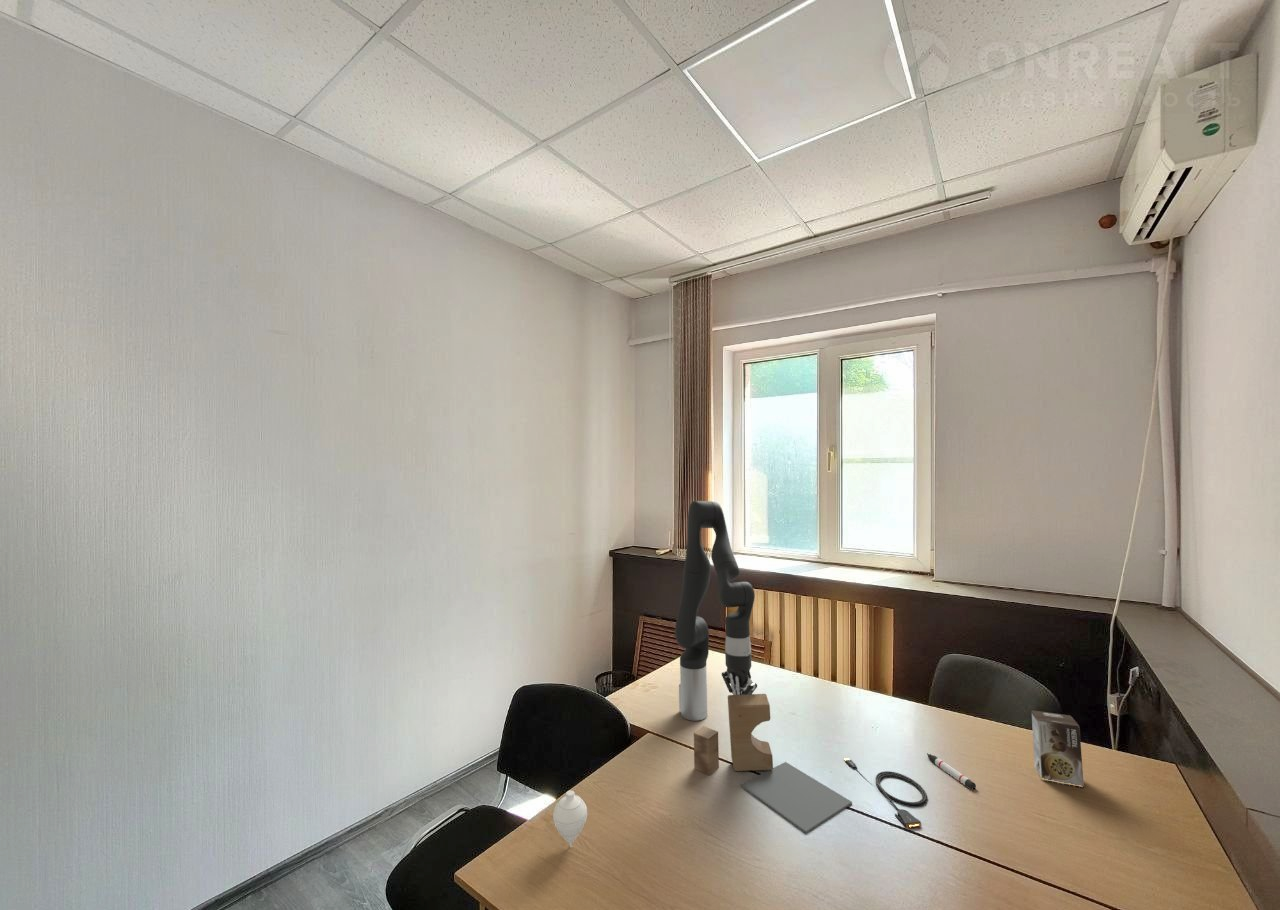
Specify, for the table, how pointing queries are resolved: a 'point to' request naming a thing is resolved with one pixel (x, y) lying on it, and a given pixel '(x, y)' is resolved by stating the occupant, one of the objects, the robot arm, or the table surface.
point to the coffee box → (1057, 747)
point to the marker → (952, 771)
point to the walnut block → (706, 750)
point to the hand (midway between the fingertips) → (739, 710)
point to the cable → (902, 814)
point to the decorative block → (748, 732)
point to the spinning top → (570, 816)
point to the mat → (796, 796)
